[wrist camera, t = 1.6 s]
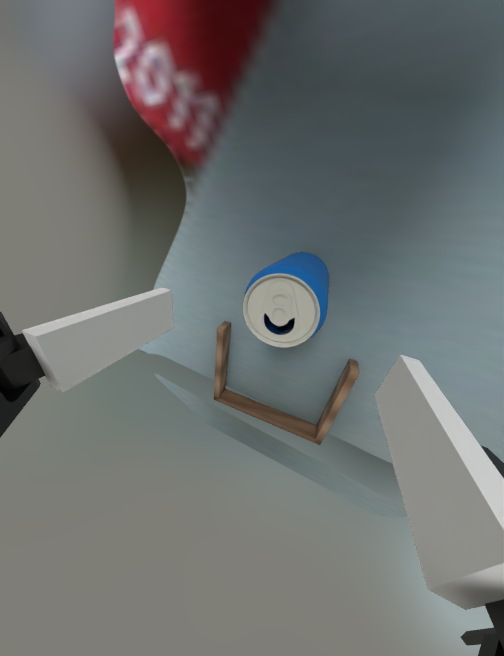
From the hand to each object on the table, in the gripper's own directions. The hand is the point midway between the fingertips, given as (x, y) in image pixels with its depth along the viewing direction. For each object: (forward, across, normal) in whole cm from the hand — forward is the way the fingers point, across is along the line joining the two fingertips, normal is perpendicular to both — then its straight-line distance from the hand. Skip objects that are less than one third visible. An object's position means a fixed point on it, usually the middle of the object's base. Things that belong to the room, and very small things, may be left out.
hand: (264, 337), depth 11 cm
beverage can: (+15, 0, 0) cm, 15 cm away
